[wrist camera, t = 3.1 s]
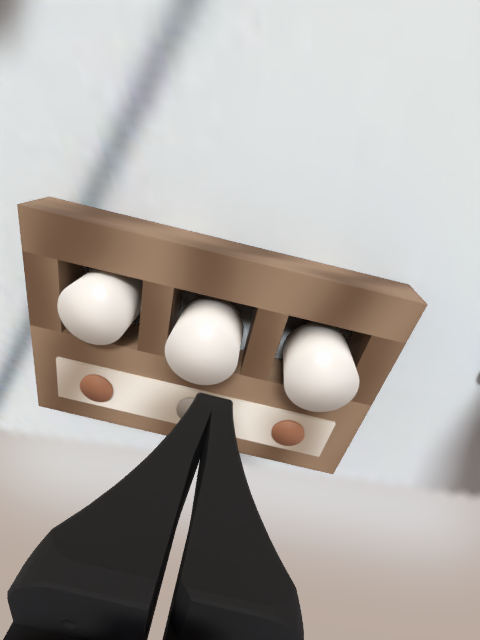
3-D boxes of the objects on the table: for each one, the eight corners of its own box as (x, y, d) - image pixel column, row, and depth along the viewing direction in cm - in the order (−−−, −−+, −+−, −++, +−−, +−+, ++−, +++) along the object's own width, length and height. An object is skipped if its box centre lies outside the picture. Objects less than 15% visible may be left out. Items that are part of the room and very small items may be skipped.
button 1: (148, 271, 19) (128, 292, 16) (143, 324, 21) (124, 351, 18) (86, 256, 19) (55, 274, 16) (86, 311, 20) (59, 336, 18)
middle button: (250, 305, 18) (245, 333, 15) (236, 358, 20) (230, 392, 17) (185, 289, 18) (169, 315, 15) (176, 344, 20) (161, 375, 17)
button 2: (357, 331, 18) (371, 363, 15) (334, 381, 20) (343, 418, 17) (293, 315, 18) (295, 345, 15) (275, 367, 20) (275, 402, 17)
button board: (409, 284, 18) (430, 308, 16) (327, 444, 24) (334, 479, 22) (49, 196, 18) (11, 205, 15) (60, 381, 24) (34, 410, 21)
